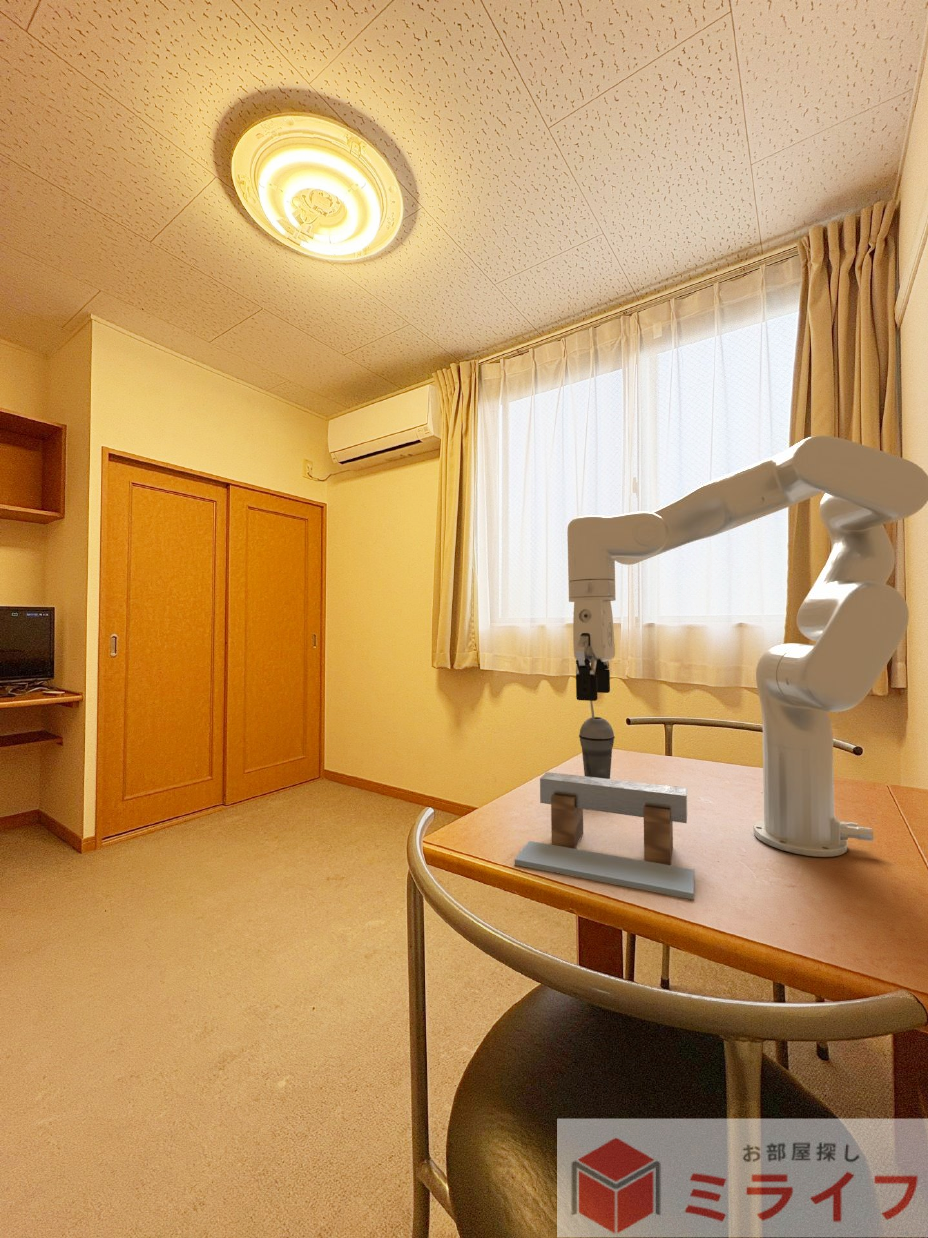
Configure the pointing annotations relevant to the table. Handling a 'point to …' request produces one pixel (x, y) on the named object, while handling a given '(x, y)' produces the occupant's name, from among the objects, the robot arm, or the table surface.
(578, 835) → the post far
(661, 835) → the post near
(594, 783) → the rail
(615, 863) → the grey board
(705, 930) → the table surface
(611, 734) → the beverage cup
